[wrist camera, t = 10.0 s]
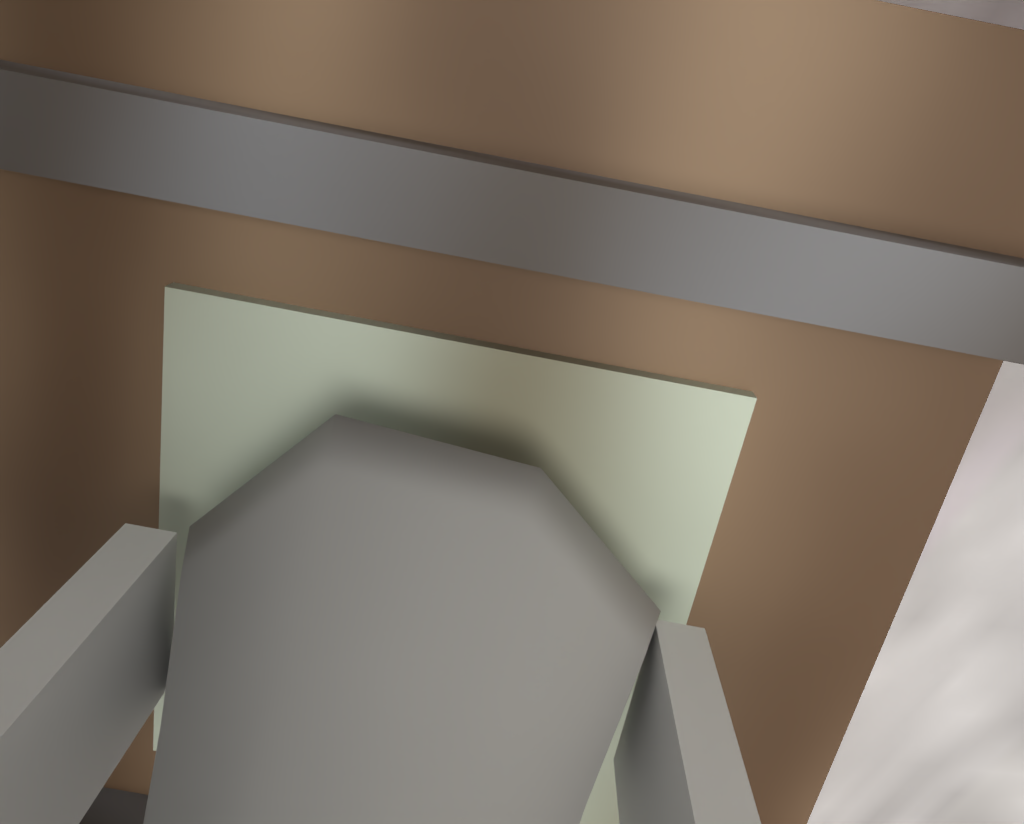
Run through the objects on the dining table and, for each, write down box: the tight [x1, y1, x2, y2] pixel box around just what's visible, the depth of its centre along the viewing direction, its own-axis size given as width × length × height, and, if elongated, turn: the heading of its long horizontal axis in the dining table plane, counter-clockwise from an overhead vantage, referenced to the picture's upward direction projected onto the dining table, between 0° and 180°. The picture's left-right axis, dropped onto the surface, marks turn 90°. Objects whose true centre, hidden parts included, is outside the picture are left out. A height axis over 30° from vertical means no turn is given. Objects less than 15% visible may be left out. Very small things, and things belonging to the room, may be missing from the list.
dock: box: [0, 0, 1024, 824], centre depth 15 cm, size 16×20×4 cm
